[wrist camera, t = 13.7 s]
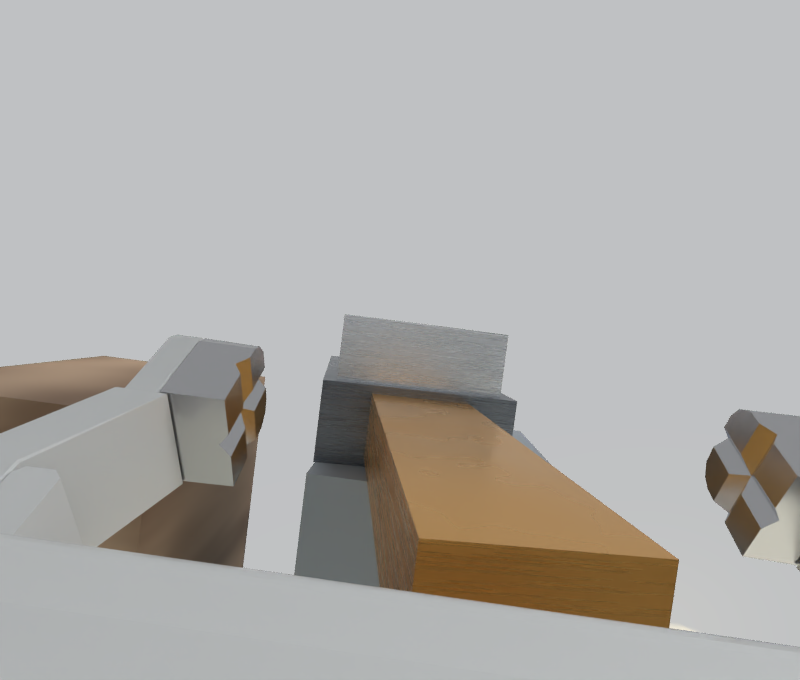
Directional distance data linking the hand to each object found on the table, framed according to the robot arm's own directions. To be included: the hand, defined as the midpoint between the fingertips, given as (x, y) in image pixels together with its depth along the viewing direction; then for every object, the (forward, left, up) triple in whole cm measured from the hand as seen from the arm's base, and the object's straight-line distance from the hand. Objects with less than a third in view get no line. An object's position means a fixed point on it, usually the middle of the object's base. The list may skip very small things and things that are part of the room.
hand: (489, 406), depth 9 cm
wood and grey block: (+1, -6, -3) cm, 7 cm away
